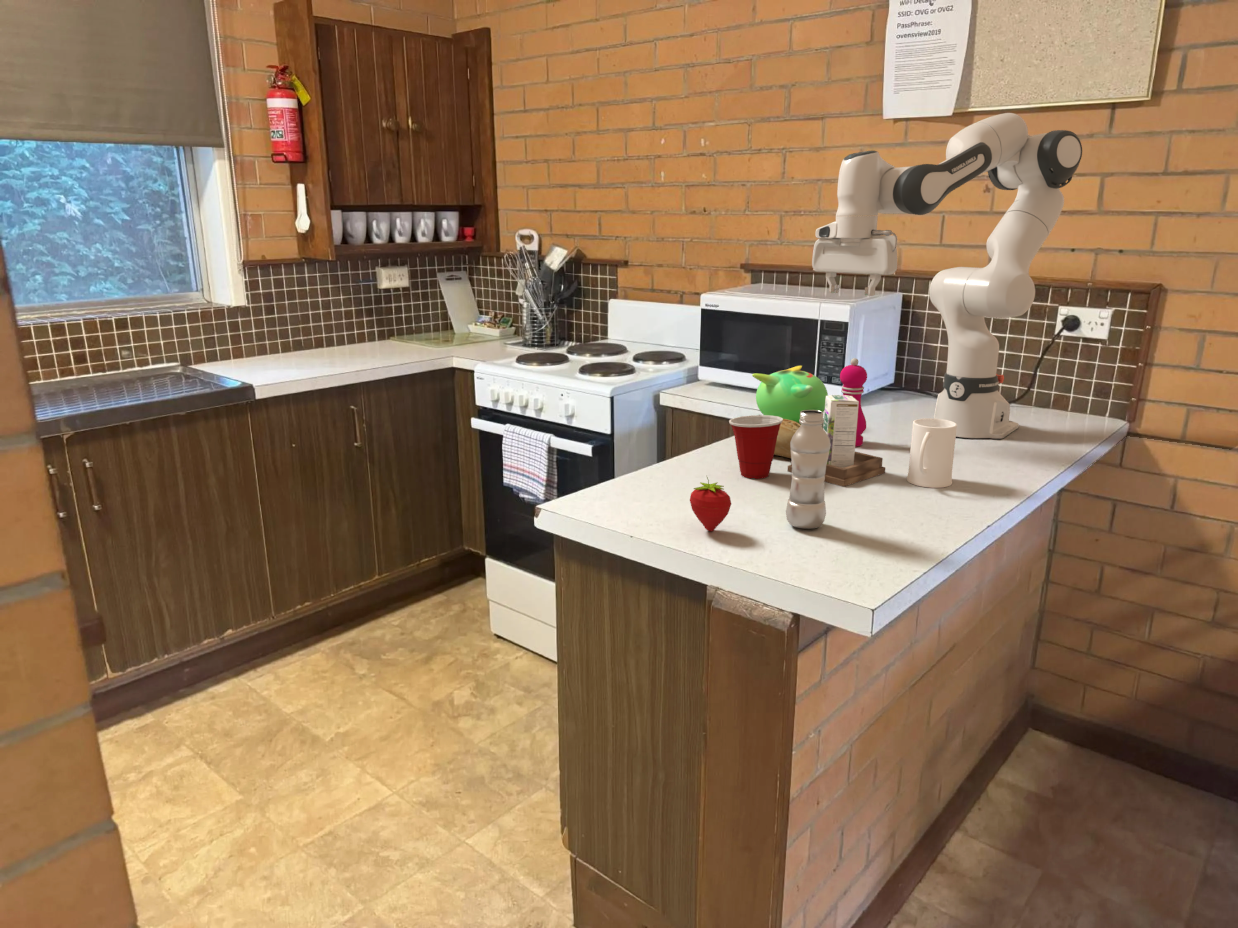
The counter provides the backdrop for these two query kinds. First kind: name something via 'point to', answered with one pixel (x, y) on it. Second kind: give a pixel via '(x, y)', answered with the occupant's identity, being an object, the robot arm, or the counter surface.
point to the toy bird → (790, 393)
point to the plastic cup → (755, 443)
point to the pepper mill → (855, 392)
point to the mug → (932, 453)
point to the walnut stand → (853, 470)
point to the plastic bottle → (808, 472)
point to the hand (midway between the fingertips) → (851, 294)
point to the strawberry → (710, 504)
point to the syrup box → (841, 428)
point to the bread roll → (785, 437)
